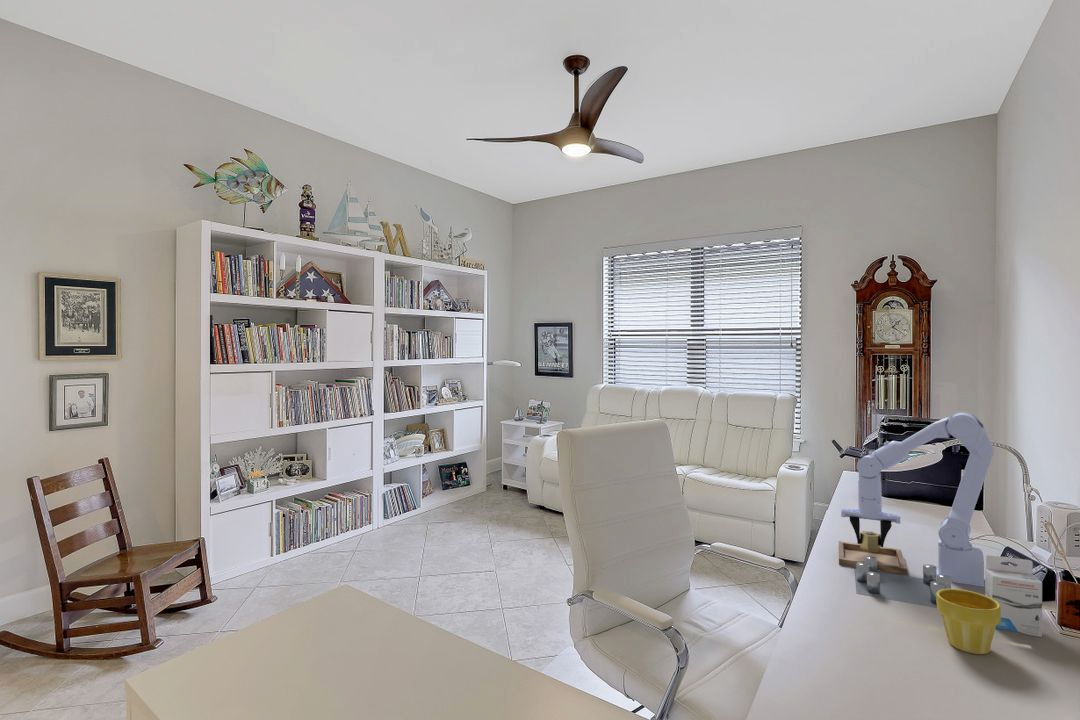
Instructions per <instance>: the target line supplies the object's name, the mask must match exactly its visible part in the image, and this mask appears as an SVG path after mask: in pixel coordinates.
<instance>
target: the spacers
mask: <svg viewBox="0 0 1080 720" xmlns="http://www.w3.org/2000/svg"><path fill="white" fill-rule="evenodd" d="M855 568H856V570H857V581H858V582H860V583H865V584H867V591H868V592H869V593H871V594H880V574H878V573H877V571H878V570H877V558H876V557H873V556H865V563H863V562H857V563H856V567H855ZM936 569H937V567H936V566H935V565H933V564H928V563H924V564H923V565H922V578H923V583H924V584H926V585H930V602H931V603H933V604H936V605H937V601H936V593H937V592H938V591H939V590H942V589H952V582H951V577H950V576H948V575H944V574H936Z"/></svg>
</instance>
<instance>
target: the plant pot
mask: <svg viewBox="0 0 1080 720" xmlns="http://www.w3.org/2000/svg"><path fill="white" fill-rule="evenodd" d="M936 601H937V608H936V609H937V611H938V612H939V613H940V615H941V618H942V622H943V625H944V629H945V633H946V637H947V641H948V643H949V644H950V645H951V646H952V647H954V648H955V649H958V650H959V651H962V652H965V653H969V654H973V655H987V654H988V653H990V650H991V646H992V643H993V638H994V635H995V630H996V629H997V628H996V625H998V624H999V623H1000V621H1001V607H1000V604H999V603H998V602H997V601H995V600H994V599H992V598H990V597H988V596H985V594H982V593H979V592H976V591H971V590H967V589H959V588H951V589H942V590H939V591H938V592H937V593H936Z"/></svg>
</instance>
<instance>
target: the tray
mask: <svg viewBox="0 0 1080 720" xmlns="http://www.w3.org/2000/svg"><path fill="white" fill-rule="evenodd" d="M865 556H873V557H876V558H877V571H878V572H884V573H891V574H897V575H904V576H908V568H907V565H906V562H905V558H904V555H903V552H902V550H901V549H900V548H892V547H886V546H885V547H884V546H883V547H880V551H879V552H867V551H865V550H863V549H860V544H858V543H856V542H855V543H853V542H848V541H841V540H838V565H839V566H846V567H852V568H853V567H854V568H856V563H857V562H863V563H865Z"/></svg>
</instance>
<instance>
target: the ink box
mask: <svg viewBox="0 0 1080 720" xmlns="http://www.w3.org/2000/svg"><path fill="white" fill-rule="evenodd" d="M985 557H986V559H985V560H986V561H985V562H986V565H985V567H986V568H984V585H985V586H984V587H985V588H984V595H985V596H988V597H990V598H992V599H994V600H995V601H997V602H998V603H999V604H1000V607H1001V621H1000V623H999V624H998V625H996V628H995V629H999V630H1006V631H1011V632H1017V633H1019V632H1020V633H1022V635H1026V636H1033V637H1038V638H1039V637H1040V638H1042V637H1043V582H1042V581H1041V580H1040V579H1039V578H1038V577H1037V576H1036V575H1034V574H1033V565H1034V562H1033V561H1032V560H1031V559H1024V558H1015V557H1007V556H1002V555H1001V556H999V555H990V554H989V555H986V556H985ZM1002 563H1011V564H1016V565H1006V564H1002Z"/></svg>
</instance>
